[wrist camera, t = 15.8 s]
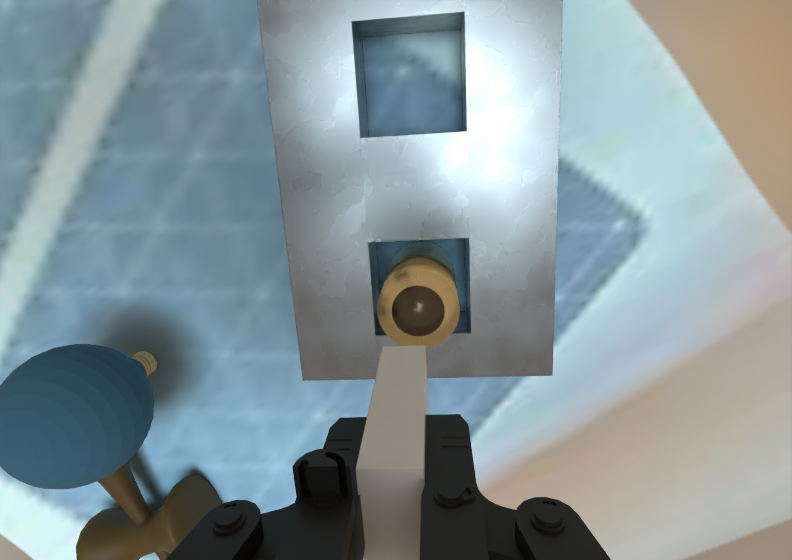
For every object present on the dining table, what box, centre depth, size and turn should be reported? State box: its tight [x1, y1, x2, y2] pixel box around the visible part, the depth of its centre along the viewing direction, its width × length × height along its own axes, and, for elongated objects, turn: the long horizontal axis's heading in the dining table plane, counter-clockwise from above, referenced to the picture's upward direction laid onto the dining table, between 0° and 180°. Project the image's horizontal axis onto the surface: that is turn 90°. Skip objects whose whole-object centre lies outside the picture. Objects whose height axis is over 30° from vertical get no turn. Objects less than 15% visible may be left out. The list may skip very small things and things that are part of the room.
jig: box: [257, 0, 563, 381], centre depth 30 cm, size 24×16×4 cm, turn 3°
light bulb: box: [0, 344, 157, 489], centre depth 31 cm, size 8×8×12 cm
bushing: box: [377, 241, 460, 348], centre depth 30 cm, size 4×4×8 cm
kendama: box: [76, 462, 221, 560], centre depth 37 cm, size 6×10×20 cm
